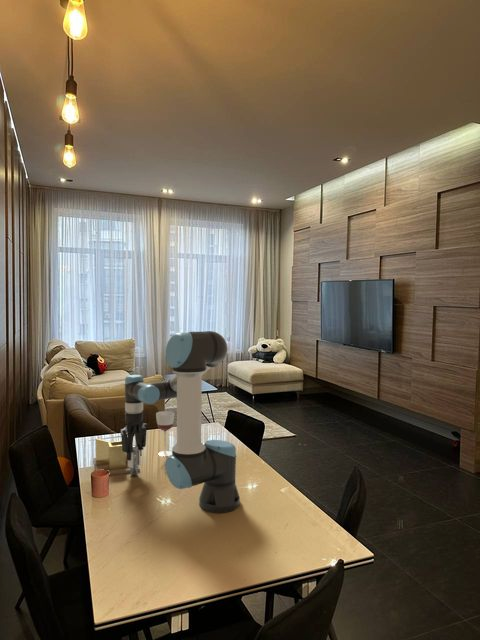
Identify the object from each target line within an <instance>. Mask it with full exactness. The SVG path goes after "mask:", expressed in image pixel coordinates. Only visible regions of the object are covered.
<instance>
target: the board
mask: <svg viewBox="0 0 480 640" xmlns="http://www.w3.org/2000/svg"><path fill="white" fill-rule="evenodd" d="M93 464H94V465H93V466H94V470H100V469H104V470H109V473H110V475H109V476H115V475H124V474H130V467H128V460H126V467H125V468H118V469H109V465H108V464H107V463H103V462H99V461H96V457H93ZM140 471H141V469H140V465H138V473H139V472H140Z"/></svg>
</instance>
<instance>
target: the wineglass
mask: <svg viewBox="0 0 480 640" xmlns="http://www.w3.org/2000/svg"><path fill="white" fill-rule="evenodd" d="M155 418H156V424H157V427H158V429H159V430H161V431H163V436H164V437H163V438H164V439H163V441H164V442H163V450H161V451H159V453H158V452H157V453H158V455H159V457H163V456H164V457H169V456H171V455H172V451H170V450H167V449H166V448H167V443H166V442H167V441H166V440H167V438H166V437H167V431H169V430H170V429H172V427H173V425H174V420H175V412H173V411H170V410H169V411H168V410H165V411H164V410H163V411H161V410H160V411H156V413H155ZM158 455H157V456H158Z"/></svg>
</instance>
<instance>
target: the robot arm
mask: <svg viewBox="0 0 480 640" xmlns="http://www.w3.org/2000/svg"><path fill="white" fill-rule="evenodd" d="M165 347H166V348H165V359H166V363H167V364H168V366H170V368H172V372H173V373H174V375H173V376H171V378H169V380H164V381H163V380H162V381H155V382H149V383H148V382H147V383H146V382H144V376H143V375H141V374H130V375H126V377H125V378H124V411H125V412H124V420H125V425H124V428H121V429H120V430H119V432H120V436H121V438H120V439H121V441H122V451H123V452H126V453H127V460H128V467H130V468H133V452H132V445H134V444H133V443H134V439H135V445H138V466H141V465H142V464H141V463H142V462H141V458H142V455H143V452H142V451H143V450H144V448H146V445H147V429H148V427H149V424H148V423H144V422H143V421H144V404H147V405H148V404H149V405H153V404H155V403H156V402H157V401H162V400H168V399H176V443H175V444H174V445H173V446H172V448H171V450H172V451H171V452H172V455H170V456H167V458H166V460H165V463H164V464H165V473H166V475H167V478H168V480H169V482H170V483H171V485H172V486H173V487H174V488H175V489H179V490H184V489H187V488H188V489H190V488H192V487H195V486H197V485H201V484H203V485H202V487H201V491H200V494H199V498H198V499H199V500H198V503H199V504H198V505H199V507H200V508H201V509H203V510H204V511H206V512H210V513H213V514H214V513H215V514H216V513H218V514H220V513H221V514H222V513H223V514H224V513H229V512H233V511H234V510H237V509H238V508H239V507H240V502H241V501H240V500H241V499H240V493H239V491H238V486H237V484H236V475H237V474H236V472H237V471H236V470H237V469H236V468H237V467H236V466H237V452H236V451H237V449H236V445H234V444H233V443H232V442H230V441H227V440H221V439H210V440H209V439H208V440H206V441H204V443H203V442H202V398H203V397H202V390H203V389H202V379H203V378H202V377H203V375H204V374H205V373H207V372H208V371H209V370H210V369H211V368H216V367H218V365H220V364H221V363H222V362H224V360H225V358H226V357H227V354H228V344H227V341H226V339H225V337H223V335H222V334H220V333H218V332H216V331H212V330H206V331H183V332H176V333H174V334H173V335H171V336H170V338H169V339H168V341H167V343H166V346H165Z"/></svg>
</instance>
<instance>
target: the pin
mask: <svg viewBox="0 0 480 640" xmlns="http://www.w3.org/2000/svg"><path fill="white" fill-rule="evenodd" d="M132 452H133V468H130V473H129V474H130V475H131V476H137V475H138V474H139V472H138V466H139V465H138V445H136V444H133V445H132Z"/></svg>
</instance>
